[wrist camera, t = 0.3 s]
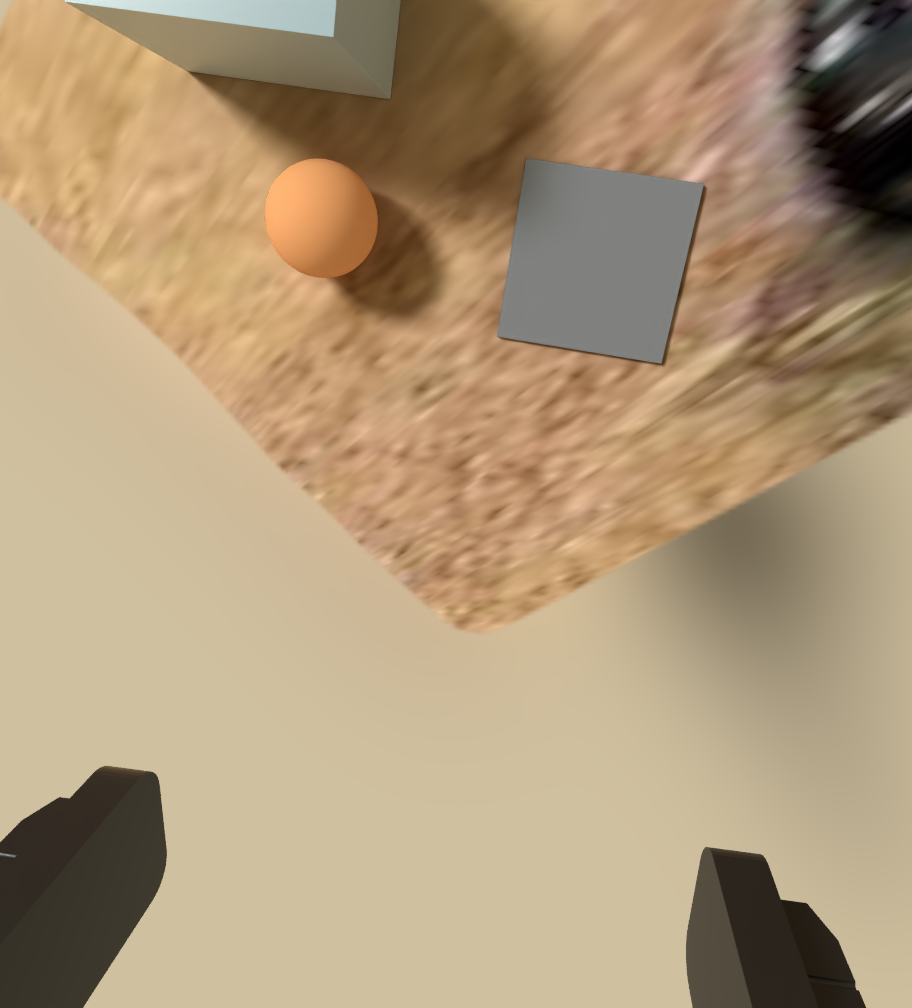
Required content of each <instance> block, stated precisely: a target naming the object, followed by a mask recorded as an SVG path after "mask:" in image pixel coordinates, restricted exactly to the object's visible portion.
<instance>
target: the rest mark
mask: <svg viewBox="0 0 912 1008" xmlns="http://www.w3.org/2000/svg"><path fill="white" fill-rule="evenodd" d="M703 186H704V184H701V183H694V182H687V181H680V180H673V179H666V178H660V177H653V176H646V175H639V174H632V173H625V172H618V171H611V170H604V169H597V168H590V167H583V166H576V165H569V164H562V163H555V162H548V161H541V160H534V159H527V158H526V163H525V169H524V176H523V182H522V188H521V194H520V200H519V206H518V212H517V218H516V224H515V231H514V237H513V243H512V249H511V255H510V261H509V267H508V273H507V279H506V286H505V292H504V298H503V304H502V310H501V316H500V322H499V328H498V334H497V337H503V338H509V339H515V340H521V341H527V342H533V343H539V344H545V345H551V346H557V347H563V348H569V349H576V350H582V351H588V352H594V353H600V354H606V355H612V356H618V357H624V358H630V359H636V360H642V361H648V362H654V363H662V359H663V355H664V350H665V346H666V342H667V338H668V334H669V329H670V325H671V321H672V317H673V312H674V308H675V304H676V300H677V296H678V291H679V287H680V283H681V279H682V274H683V270H684V266H685V262H686V258H687V253H688V249H689V245H690V241H691V236H692V232H693V228H694V224H695V220H696V215H697V211H698V207H699V203H700V199H701V194H702V190H703Z"/></svg>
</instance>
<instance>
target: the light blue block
mask: <svg viewBox="0 0 912 1008" xmlns="http://www.w3.org/2000/svg"><path fill="white" fill-rule="evenodd" d="M65 2H66V3H68V4H70V5H72V6H73V7H75V8H77V9H79V10H80V11H82V12H84V13H86V14H87V15H89V16H91V17H93V18H94V19H96V20H98V21H100V22H101V23H103V24H105V25H107V26H109V27H110V28H112V29H114V30H116V31H117V32H119V33H121V34H123V35H124V36H126V37H128V38H130V39H131V40H133V41H135V42H137V43H138V44H140V45H142V46H144V47H145V48H147V49H149V50H151V51H152V52H154V53H156V54H158V55H159V56H161V57H163V58H165V59H166V60H168V61H170V62H172V63H173V64H175V65H177V66H179V67H181V68H182V69H184V70H186V71H190V72H197V73H204V74H211V75H218V76H226V77H233V78H240V79H247V80H254V81H262V82H269V83H276V84H283V85H290V86H298V87H305V88H312V89H319V90H326V91H334V92H341V93H348V94H355V95H363V96H370V97H377V98H384V99H390V97H391V88H392V79H393V69H394V60H395V51H396V41H397V32H398V23H399V13H400V4H401V0H65Z"/></svg>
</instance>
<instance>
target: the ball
mask: <svg viewBox="0 0 912 1008" xmlns="http://www.w3.org/2000/svg"><path fill="white" fill-rule="evenodd" d="M265 223H266V228H267V232H268V235H269V238H270V240H271V242H272V244H273V246H274V248H275V250H276V251H277V253H278V254H279V255H280V256H281V258H282V259H283V260H284V261H285V262H286V263H288V264H289V265H290V266H291V267H293V268H294V269H296V270H297V271H299V272H301V273H304V274H306V275H309V276H313V277H318V278H332V277H337V276H341V275H344V274H346V273H348V272H350V271H352V270H354V269H355V268H356V267H358V266H359V265H360V264H361V263H362V262H363V261H364V260H365V258H366V257H367V256H368V254H369V253H370V251H371V249H372V247H373V245H374V242H375V239H376V235H377V229H378V216H377V210H376V205H375V202H374V199H373V197H372V195H371V192H370V190H369V189H368V187H367V186H366V184H365V183H364V182H363V180H362V179H361V178H360V177H359V176H358V175H357V174H356V173H355V172H353V171H352V170H351V169H349V168H348V167H346V166H344V165H343V164H340V163H338V162H335V161H332V160H327V159H319V158H317V159H308V160H303V161H300V162H298V163H295V164H293V165H292V166H290V167H288V168H287V169H286V170H285V171H283V172H282V173H281V174H280V175H279V176H278V178H277V179H276V180H275V182H274V183H273V185H272V187H271V189H270V191H269V194H268V196H267V200H266V206H265Z"/></svg>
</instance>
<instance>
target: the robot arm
mask: <svg viewBox="0 0 912 1008" xmlns="http://www.w3.org/2000/svg"><path fill="white" fill-rule="evenodd" d="M166 858H167V850H166V841H165V831H164V822H163V813H162V804H161V794H160V785H159V780H158V777H157V776H156V774H154V773H153V772H149V771H142V770H134V769H127V768H119V767H111V766H104V767H101V768H99V769H98V770H96V771H95V772H94V773H93V774H92V775H91V776H90V777H89V778H88V779H87V781H86V782H85V783H84V784H83V785H82V786H81V787H80V788H79V789H78V790H77V791H76V792H75V793H74V794H73V796H72V797H71V798H70V799H68V798H61V797H59V798H57V799H56V800H54V801H52V802H51V803H49V804H48V805H46V806H44V807H43V808H41V809H40V810H38V811H36V812H35V813H33V814H32V815H30V816H29V817H27V818H25V819H23V820H22V821H21V822H20V823H19V824H18V825H17V826H16V827H15V828H14V829H13V830H12V831H11V832H10V833H9V834H8V835H7V836H6V837H5V838H4V839H3V840H2V841H1V842H0V1008H83V1007H84V1005H85V1004H86V1002H87V1001H88V999H89V997H90V996H91V994H92V993H93V991H94V990H95V988H96V987H97V985H98V983H99V982H100V981H101V979H102V977H103V976H104V974H105V973H106V971H107V970H108V968H109V967H110V965H111V963H112V962H113V960H114V959H115V957H116V956H117V954H118V953H119V951H120V949H121V948H122V947H123V945H124V944H125V942H126V941H127V938H128V937H129V936H130V934H131V933H132V931H133V930H134V928H135V927H136V925H137V924H138V922H139V921H140V919H141V917H142V916H143V914H144V913H145V911H146V910H147V908H148V907H149V905H150V904H151V902H152V900H153V899H154V897H155V895H156V893H157V891H158V889H159V887H160V884H161V881H162V878H163V874H164V871H165V866H166ZM686 963H687V976H688V983H689V989H690V995H691V1000H692V1006H693V1008H866V1006H865V1004H864V1002H863V999H862V997H861V995H860V992H859V991H858V990H856V987H855V980H854V978H853V975H852V973H851V970H850V968H849V966H848V964H847V961H846V958H845V956H844V954H843V951H842V949H841V946H840V944H839V942H838V940H837V939H836V938H835V936H834V935H833V934H832V933H831V932H830V930H829V929H828V928H827V927H826V926H825V924H823V922H822V921H821V920H820V918H819V917H818V916H817V915H816V914H815V912H814V911H813V910H812V909H811V908H810V907H809V905H808V904H807V903H801V902H794V901H787V900H781V899H780V897H779V894H778V891H777V888H776V885H775V882H774V879H773V877H772V874H771V871H770V868H769V865H768V863H767V861H766V859H765V858H764V856H763V855H761V854H754V853H747V852H739V851H732V850H723V849H717V848H709V847H705V849H704V850H703V852H702V855H701V860H700V865H699V870H698V876H697V881H696V886H695V892H694V898H693V903H692V908H691V914H690V920H689V925H688V930H687V942H686Z"/></svg>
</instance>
